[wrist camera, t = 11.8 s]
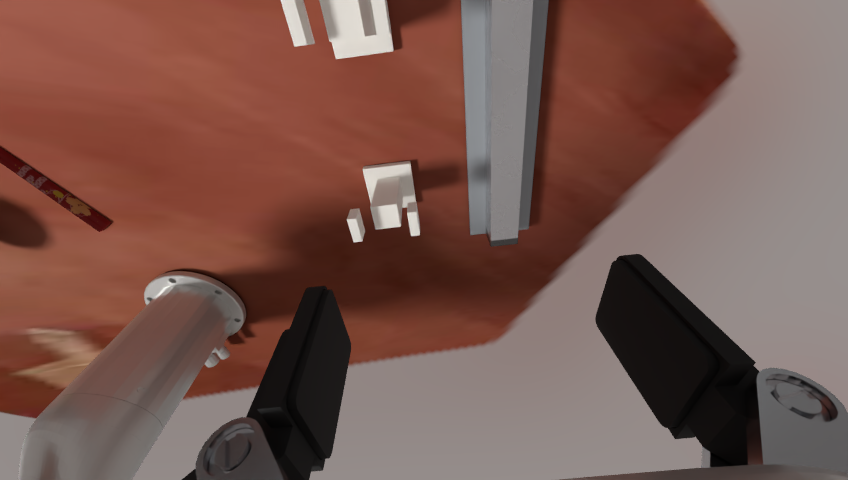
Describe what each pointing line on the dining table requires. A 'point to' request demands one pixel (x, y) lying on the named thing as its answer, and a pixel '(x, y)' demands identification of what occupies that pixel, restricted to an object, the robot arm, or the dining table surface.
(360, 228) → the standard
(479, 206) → the mat
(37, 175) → the chopstick
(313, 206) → the dining table surface
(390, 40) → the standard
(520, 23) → the steel rail
